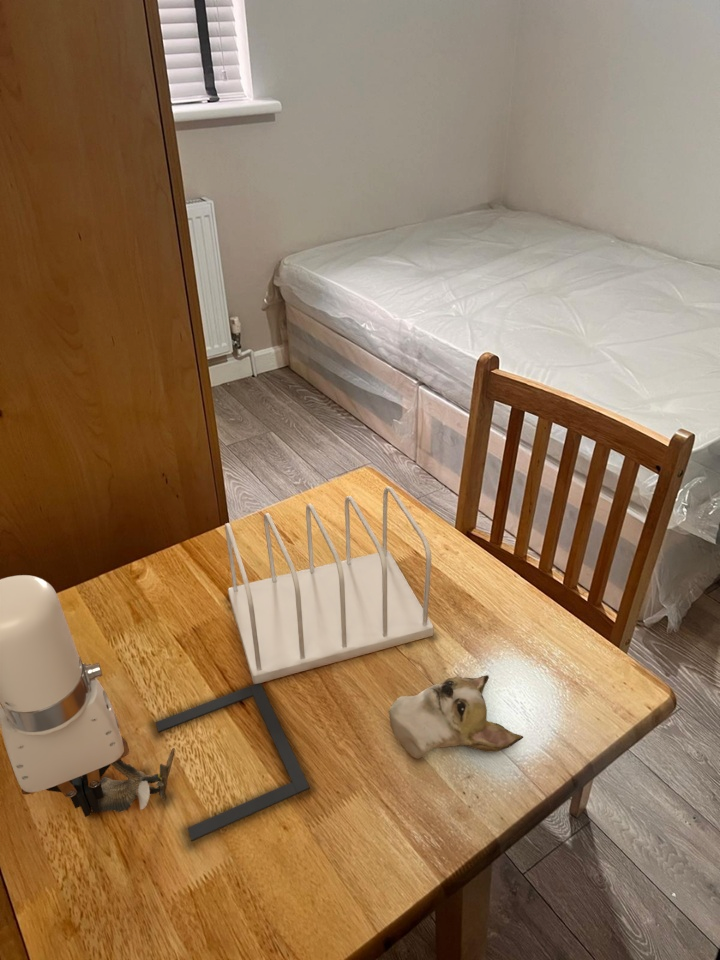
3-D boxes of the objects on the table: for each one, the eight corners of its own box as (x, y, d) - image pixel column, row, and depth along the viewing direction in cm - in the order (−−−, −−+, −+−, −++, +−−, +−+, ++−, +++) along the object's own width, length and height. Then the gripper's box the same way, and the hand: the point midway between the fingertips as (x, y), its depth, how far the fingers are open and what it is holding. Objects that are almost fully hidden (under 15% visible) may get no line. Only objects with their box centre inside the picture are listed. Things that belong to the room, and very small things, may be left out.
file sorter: (253, 686, 93) (239, 596, 84) (228, 598, 107) (214, 512, 98) (434, 636, 99) (438, 547, 91) (388, 559, 113) (388, 475, 104)
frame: (191, 841, 77) (191, 840, 77) (155, 723, 89) (155, 722, 89) (309, 788, 82) (309, 787, 81) (260, 683, 94) (260, 681, 94)
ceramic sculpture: (375, 665, 84) (492, 639, 88) (371, 713, 89) (482, 687, 93) (407, 741, 76) (534, 709, 80) (401, 789, 81) (521, 757, 85)
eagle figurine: (180, 748, 85) (103, 735, 85) (171, 747, 78) (88, 733, 78) (164, 819, 82) (84, 807, 82) (153, 825, 75) (66, 811, 75)
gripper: (118, 638, 74) (151, 748, 85) (-42, 692, 69) (14, 802, 79) (133, 692, 68) (167, 803, 79) (-40, 755, 63) (21, 864, 74)
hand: (90, 802), depth 79 cm, fingers closed
